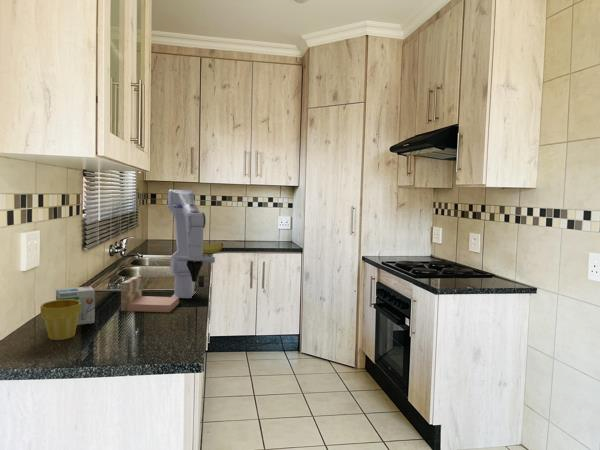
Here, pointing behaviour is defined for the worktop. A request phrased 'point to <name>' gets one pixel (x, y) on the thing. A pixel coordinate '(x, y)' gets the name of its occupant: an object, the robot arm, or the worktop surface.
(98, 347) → the worktop surface
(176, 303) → the book
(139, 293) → the bookend
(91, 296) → the light bulb box
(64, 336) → the plant pot
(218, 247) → the banana
